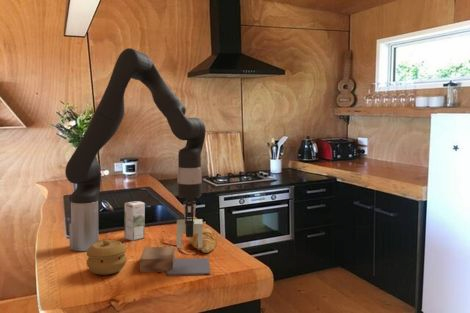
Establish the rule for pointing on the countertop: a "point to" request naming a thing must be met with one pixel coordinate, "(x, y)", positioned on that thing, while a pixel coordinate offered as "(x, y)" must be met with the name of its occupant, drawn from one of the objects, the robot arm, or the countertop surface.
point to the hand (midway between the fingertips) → (189, 233)
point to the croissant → (204, 240)
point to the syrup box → (134, 220)
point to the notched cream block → (196, 229)
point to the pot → (106, 257)
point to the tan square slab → (157, 259)
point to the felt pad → (190, 267)
